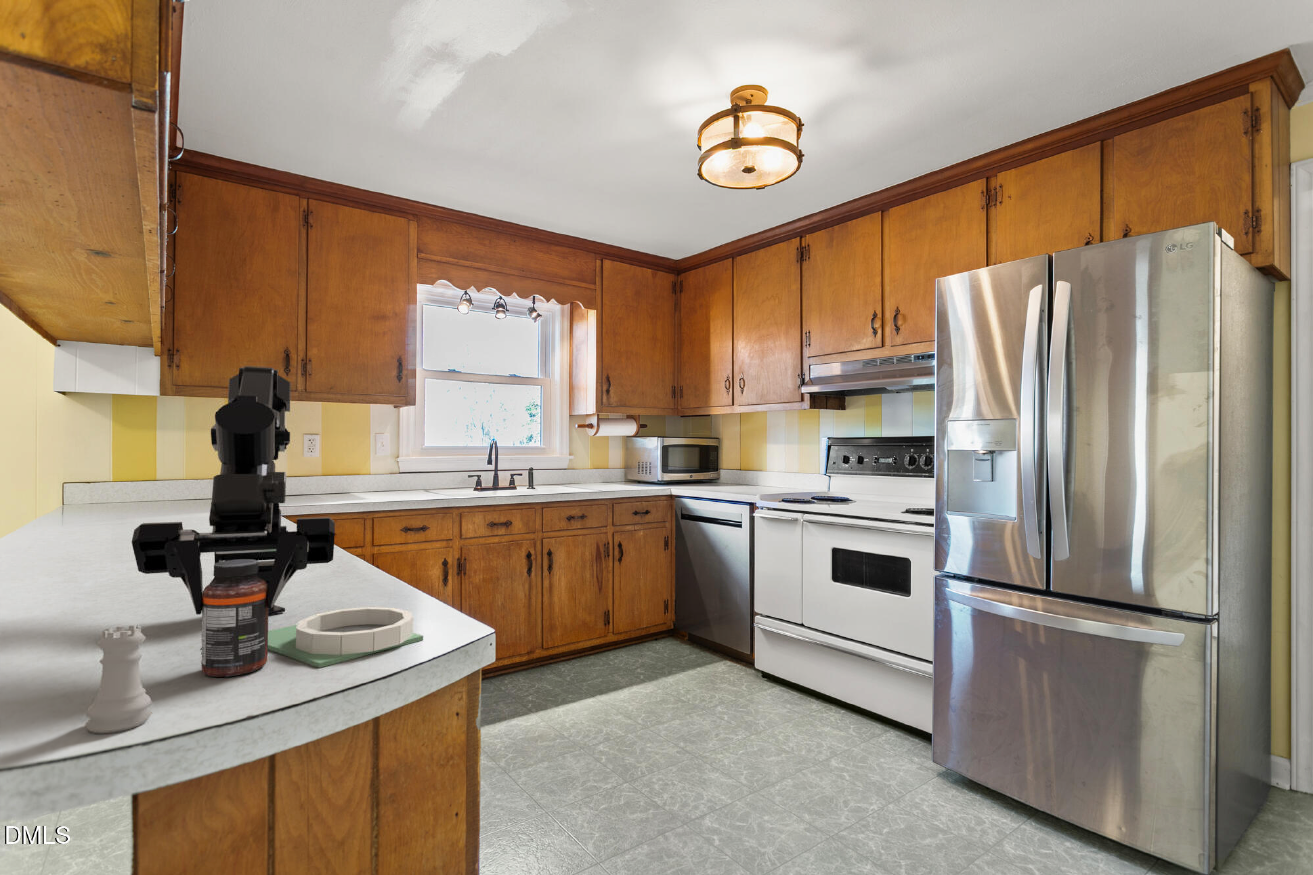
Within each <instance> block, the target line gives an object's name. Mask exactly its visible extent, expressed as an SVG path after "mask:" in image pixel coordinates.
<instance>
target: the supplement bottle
mask: <svg viewBox="0 0 1313 875" xmlns="http://www.w3.org/2000/svg"><path fill="white" fill-rule="evenodd" d="M258 572H259V570H258V561H257V560H253V559H237V560H227V561H222V562H218V563H216V564H215V563H214V564H213V576H214V577H213V579H212V580H211V581H210V583H209V584H208V585H206V586H205V587H203V595H202V612H201V647H200V649H199V651H201V653H200V654H201V660H200V664H201V671H202V673H203V674H205V675H206V676H209V677H212V678H213V677H214V678H216V677H217V678H230V677H235V676H240V675H245V674H248V673H250V674H251V673H252V672H255V671H257V670H258V671H259V669H261V668H262V667H264V666H265V665H266V664H267V662H268V654H269V649H268V631H269V615H268V608H267V600H268V585H267V583H266V582H265V581H264V580H262V579H260V577H259V576H258Z"/></svg>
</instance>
